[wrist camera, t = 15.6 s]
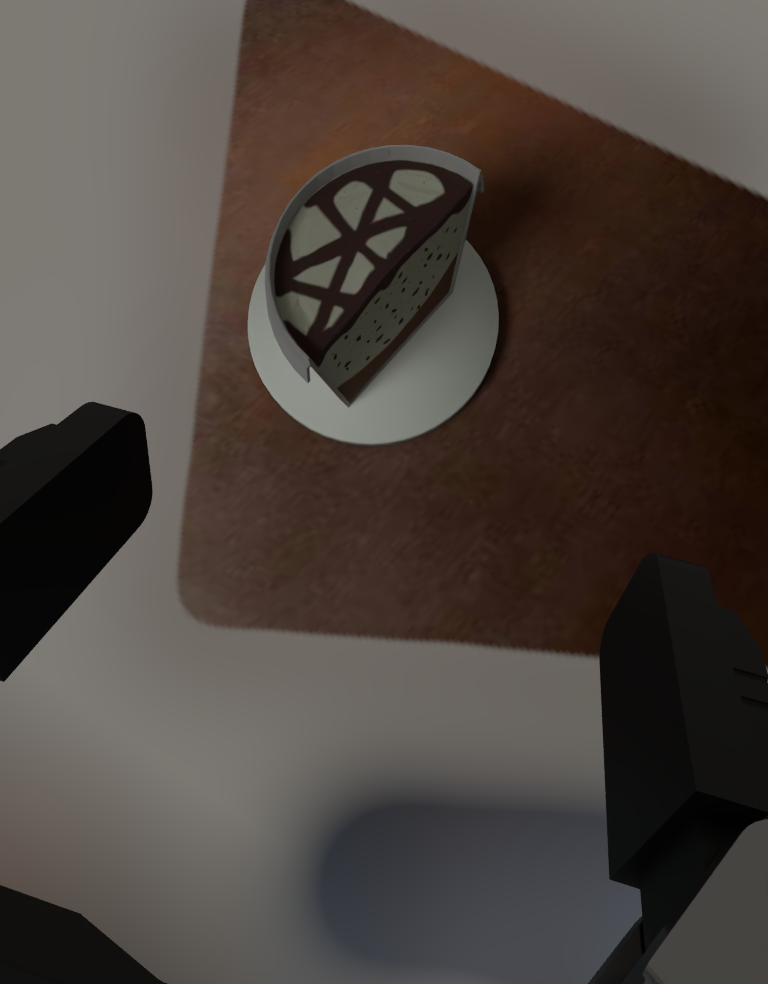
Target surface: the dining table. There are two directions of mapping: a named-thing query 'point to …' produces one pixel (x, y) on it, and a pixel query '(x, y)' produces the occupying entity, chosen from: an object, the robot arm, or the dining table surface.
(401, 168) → the food container
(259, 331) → the serving plate
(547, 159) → the dining table surface
